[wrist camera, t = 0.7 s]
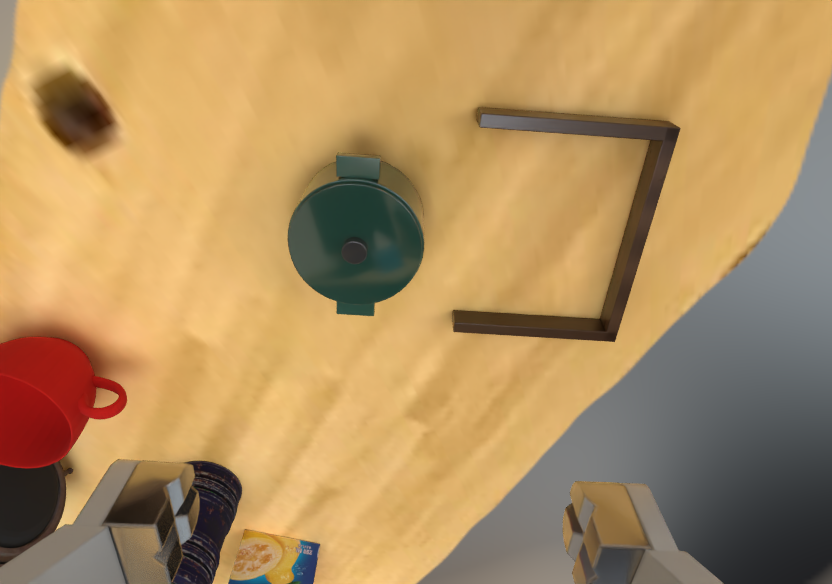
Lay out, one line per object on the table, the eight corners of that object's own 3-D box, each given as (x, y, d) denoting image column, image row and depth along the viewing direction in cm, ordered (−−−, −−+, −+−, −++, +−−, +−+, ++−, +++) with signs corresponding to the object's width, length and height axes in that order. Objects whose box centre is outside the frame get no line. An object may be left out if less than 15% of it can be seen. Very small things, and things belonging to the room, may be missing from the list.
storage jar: (219, 520, 77) (179, 631, 64) (154, 489, 74) (98, 599, 61) (257, 483, 73) (222, 593, 60) (190, 448, 70) (138, 556, 57)
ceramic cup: (165, 405, 66) (127, 469, 58) (24, 403, 66) (-36, 468, 58) (138, 314, 60) (91, 371, 51) (-18, 312, 60) (-92, 370, 51)
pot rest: (478, 107, 49) (481, 113, 47) (669, 121, 49) (681, 128, 47) (452, 319, 60) (453, 332, 58) (608, 328, 60) (615, 342, 58)
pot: (298, 133, 50) (278, 159, 43) (429, 143, 50) (431, 170, 43) (303, 281, 58) (287, 323, 51) (417, 289, 58) (417, 331, 51)
